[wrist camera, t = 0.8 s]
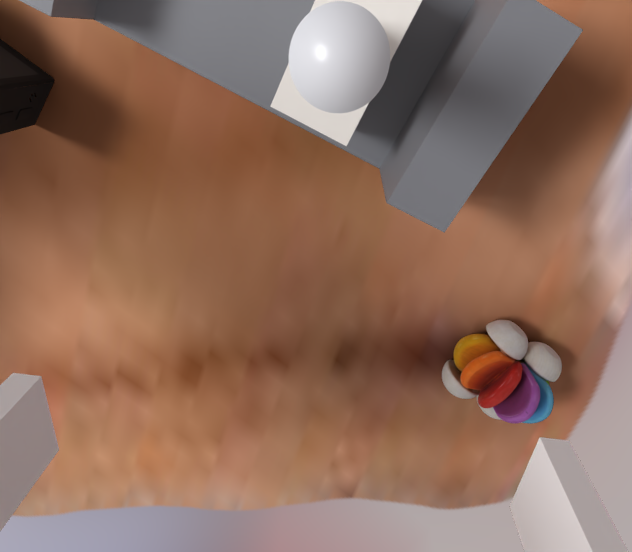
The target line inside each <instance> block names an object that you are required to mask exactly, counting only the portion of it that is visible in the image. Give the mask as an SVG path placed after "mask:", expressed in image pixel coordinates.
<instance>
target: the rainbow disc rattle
mask: <svg viewBox="0 0 632 552" xmlns="http://www.w3.org/2000/svg"><path fill="white" fill-rule="evenodd" d="M486 330H487V332H488V334H489V335H485V334H471V335H468V336H465V337H463V338H462V339H460V340H459V342H458V343H457V344H456V346H455V349H454V360H448V361H447V362H446V363H445V365H444V367H443V370H442V380H443V383H444V385H445V387H446V389H447V390H448V391H449V392H450V393H451V394H453V395H454V396H456V397H459V398H463V399H470V398H474V397H476V396H477V402H478V405H479V406H480V408H481V409H482V411H483V412H484V413H485V414H487V415H488V416H489V417H491V418H494V419H499V420H504V421H506V422H509V423H521V422H523V423H537V422H540V421H542V420H544V419H546V418H547V417H548V416H549V415H550V413H551V411H552V408H553V403H554V398H553V393H552V390H551V388H550V386H549V382H548V381H551V382H555V381H556V380H557V379H558V378H559V376H560V374H561V370H562V363H561V359H560V357H559V356H558V354H557V353H556V352H555V351H554V350H553V349H552V348H551V347H550V346H548V345H547V344H544V343H541V342H529V343H528V339H527V336H526V334H525V333H524V332H523V330H522V329H521V328H520V327H519V326H517V325H516V324H515V323H513V322H511V321H509V320H495V321H493V322H490V323H489V324H487V325H486Z"/></svg>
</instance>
